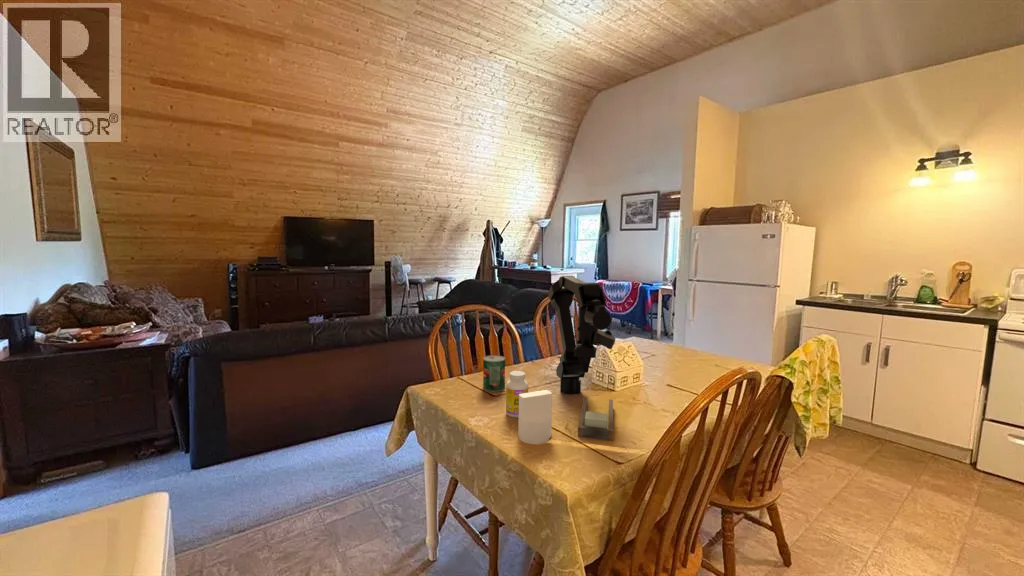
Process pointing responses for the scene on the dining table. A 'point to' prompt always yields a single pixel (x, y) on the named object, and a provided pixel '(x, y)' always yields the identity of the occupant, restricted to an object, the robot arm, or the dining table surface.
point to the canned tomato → (494, 373)
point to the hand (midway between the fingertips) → (586, 372)
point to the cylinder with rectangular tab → (535, 417)
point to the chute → (594, 431)
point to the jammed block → (596, 419)
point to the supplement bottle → (515, 392)
